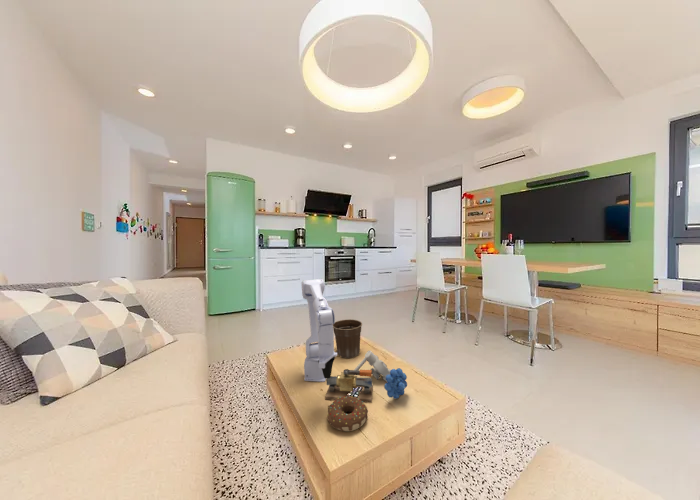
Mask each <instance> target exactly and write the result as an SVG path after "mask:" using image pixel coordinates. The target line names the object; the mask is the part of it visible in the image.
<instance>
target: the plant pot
mask: <svg viewBox="0 0 700 500" xmlns="http://www.w3.org/2000/svg"><path fill="white" fill-rule="evenodd" d="M362 326H363V322H362V321H360V320H357V319H342V320H337V321H335V323H334V324H333V335H334V340H335V345H336V352H337V356H338V357H341V358H343V359H352V358H356V357H357V356H359V355H360V352H361V334H362V333H361V332H362Z"/></svg>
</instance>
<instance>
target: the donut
mask: <svg viewBox="0 0 700 500" xmlns="http://www.w3.org/2000/svg"><path fill="white" fill-rule="evenodd" d="M368 412H369V410H368V408H367V405H366V404H365V402H362V401H360V400H359V399H357V398H356V397H353V396H348V397H345V396H344V397H340V398H338V399H336V400H332V403H330V404H329V405H328V406H327V417H326V418H327V421H328V422H329V424H330V426H331V427H332V428H335V429H336V430H339V431H341V432H352V431H355V430H358V429H359V428H361V427H362V426H363V425H364V424H365V423H366V421H367V420H368V414H369V413H368Z"/></svg>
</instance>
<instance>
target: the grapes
mask: <svg viewBox="0 0 700 500" xmlns="http://www.w3.org/2000/svg"><path fill="white" fill-rule="evenodd" d="M390 370H391V371H390V375H389V374H388V375H387V376H386V380H385V383H384V385H383V387H384V389H385V391H386V395H387V397H389V398H393V399H394V400H398V399H399V398H400V396H404V394H405V392H406V391H405V390H406V388H407V387H408V382H407V378H408V377H407V374H406V373H405V372H403V369H402V368H398V367H397V368H396V369H395V368H392V369H390Z"/></svg>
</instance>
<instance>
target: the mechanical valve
mask: <svg viewBox="0 0 700 500" xmlns="http://www.w3.org/2000/svg"><path fill="white" fill-rule="evenodd" d="M366 362H368V365H370V366H371V367H372V368H370V369H369V370H372V377H374V378H375V379H376V380H379V379H380V378H382V379H383V381H386V376H387V375H388V374H389V375H390V371H391V370H392V369H390V368H388V365H387V364H386V363H385V362H384V361H383V360H382V359H379V356H378V355H376V354H374V352H373V351H372V350H368V351H366V353H365V355H364V358H363V359H362V360H361V361H360V363H359V364H358V365H357V366H355V368H354V369H353V370H361V368H362V367H363V366H364V365H365V364H366ZM381 376H382V377H381Z"/></svg>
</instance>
